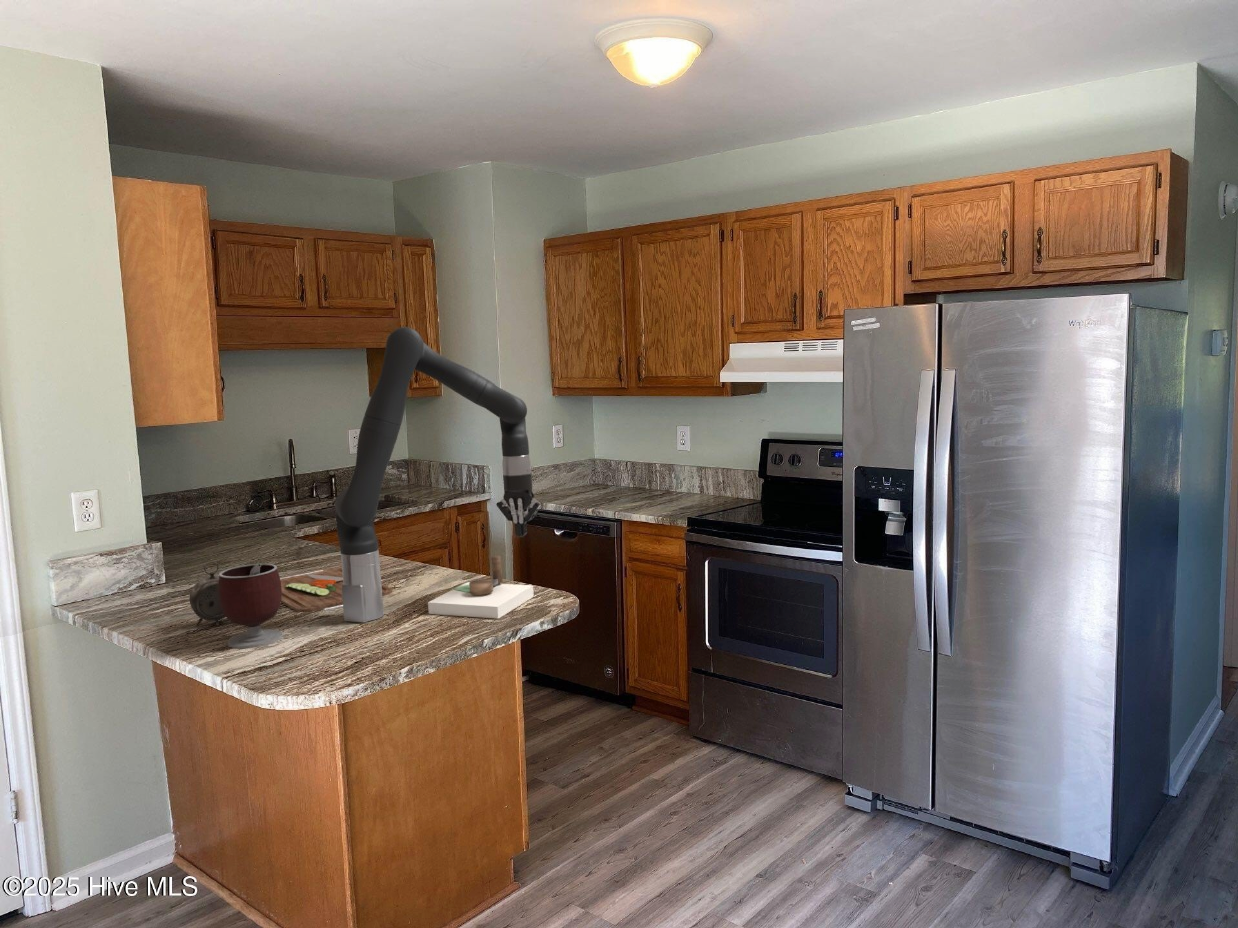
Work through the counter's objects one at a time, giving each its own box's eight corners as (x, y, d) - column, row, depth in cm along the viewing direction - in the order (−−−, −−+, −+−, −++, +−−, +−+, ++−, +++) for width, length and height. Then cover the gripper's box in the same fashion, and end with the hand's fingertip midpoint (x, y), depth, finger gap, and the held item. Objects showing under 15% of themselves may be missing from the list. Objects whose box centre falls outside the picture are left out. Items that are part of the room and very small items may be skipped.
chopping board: (251, 586, 271) (250, 576, 271) (338, 569, 287) (337, 560, 287) (304, 617, 236) (302, 605, 235) (399, 596, 252) (399, 585, 252)
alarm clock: (237, 616, 237) (231, 556, 235) (241, 621, 233) (235, 559, 231) (192, 625, 231) (185, 563, 229) (195, 630, 227) (188, 567, 225)
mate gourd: (216, 640, 218) (207, 559, 215) (274, 627, 227) (266, 548, 224) (237, 655, 206) (227, 569, 203) (297, 640, 215) (289, 558, 212)
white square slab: (498, 618, 225) (497, 605, 224) (428, 613, 232) (427, 601, 231) (533, 596, 243) (532, 584, 243) (468, 592, 250) (467, 580, 250)
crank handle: (486, 595, 233) (484, 568, 232) (465, 594, 235) (463, 567, 234) (510, 581, 245) (508, 556, 244) (490, 580, 247) (488, 555, 247)
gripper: (487, 474, 237) (492, 539, 240) (533, 474, 233) (537, 540, 235) (501, 470, 244) (505, 532, 247) (545, 469, 240) (550, 534, 242)
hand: (521, 536), depth 241 cm, fingers closed
